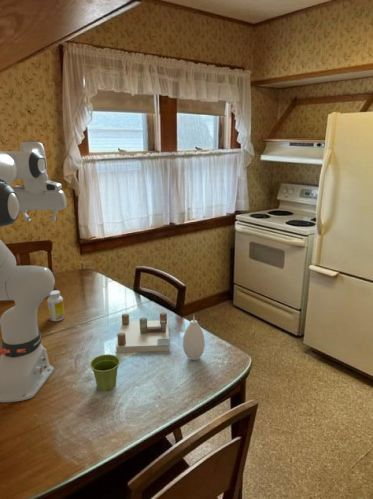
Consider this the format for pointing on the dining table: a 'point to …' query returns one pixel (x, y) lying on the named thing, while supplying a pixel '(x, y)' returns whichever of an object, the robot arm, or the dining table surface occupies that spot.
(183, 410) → the dining table surface
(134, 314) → the dining table surface
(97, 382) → the plant pot
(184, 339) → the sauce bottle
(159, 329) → the swing leg
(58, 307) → the supplement bottle
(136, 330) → the stool seat
